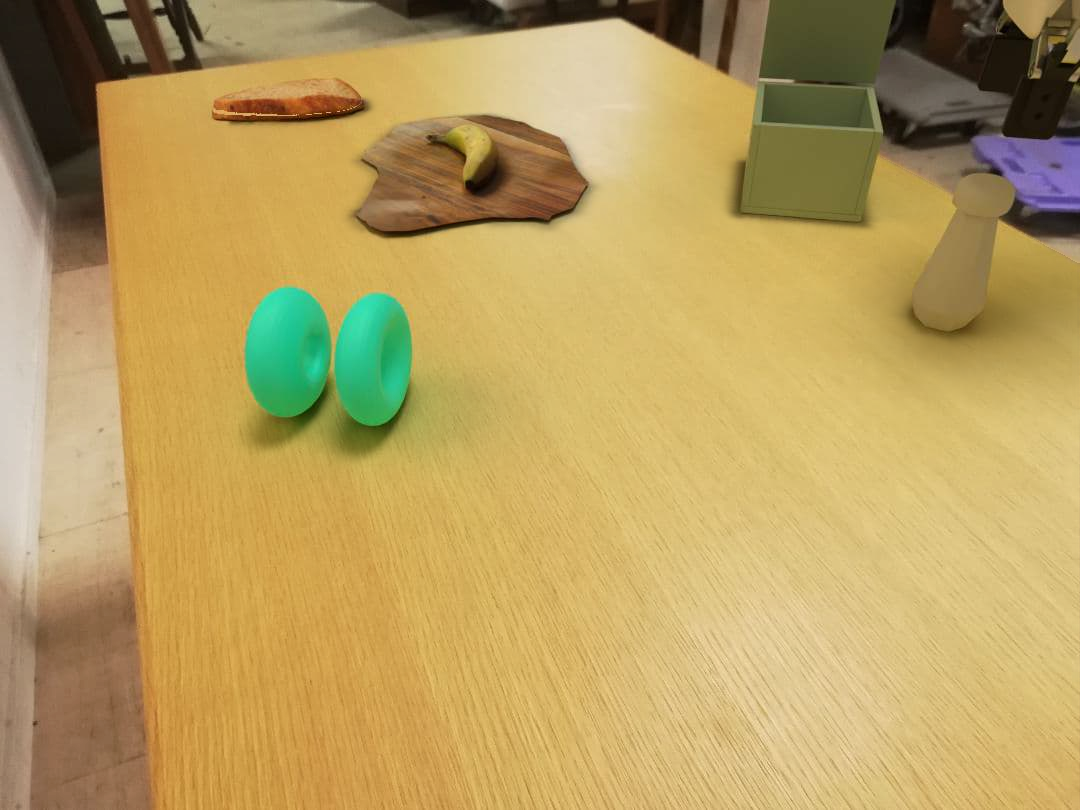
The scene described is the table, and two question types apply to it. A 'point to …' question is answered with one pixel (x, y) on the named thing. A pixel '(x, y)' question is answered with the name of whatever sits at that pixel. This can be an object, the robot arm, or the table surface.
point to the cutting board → (468, 173)
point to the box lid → (825, 39)
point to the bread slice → (291, 100)
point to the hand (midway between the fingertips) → (1010, 112)
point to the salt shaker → (963, 254)
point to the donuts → (328, 355)
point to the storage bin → (811, 150)
